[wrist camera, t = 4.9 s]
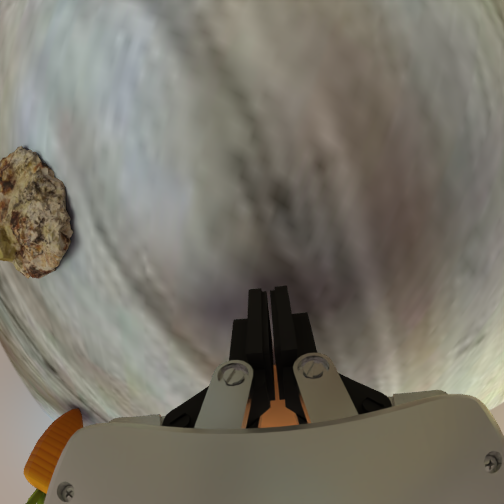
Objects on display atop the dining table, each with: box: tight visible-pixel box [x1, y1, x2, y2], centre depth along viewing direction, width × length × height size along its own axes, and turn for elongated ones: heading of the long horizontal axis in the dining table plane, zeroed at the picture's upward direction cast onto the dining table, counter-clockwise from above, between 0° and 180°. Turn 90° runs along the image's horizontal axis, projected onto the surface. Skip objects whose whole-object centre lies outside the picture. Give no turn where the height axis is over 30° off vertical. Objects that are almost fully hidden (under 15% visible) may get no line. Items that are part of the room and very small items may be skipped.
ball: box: [261, 365, 297, 428], centre depth 14 cm, size 6×6×6 cm
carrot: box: [24, 408, 83, 504], centre depth 14 cm, size 5×5×15 cm
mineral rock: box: [0, 146, 73, 278], centre depth 11 cm, size 11×4×8 cm
